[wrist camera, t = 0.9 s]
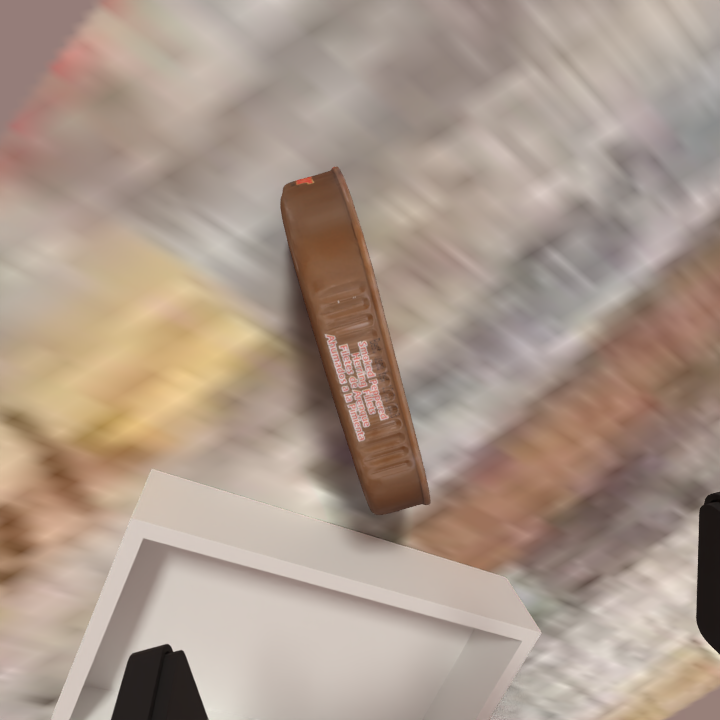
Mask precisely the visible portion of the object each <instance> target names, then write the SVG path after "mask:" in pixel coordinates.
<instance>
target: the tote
mask: <svg viewBox="0 0 720 720" xmlns="http://www.w3.org/2000/svg"><path fill="white" fill-rule="evenodd" d="M541 633H542V632H541V631H540V629H539V628H538V626H537V625H536V623H535V621H534V620H533V618H532V617H531V615H530V614H529V612H528V611H527V609H526V607H525V606H524V604H523V603H522V601H521V600H520V598H519V596H518V595H517V593H516V592H515V590H514V589H513V587H512V585H511V584H510V582H509V581H508V579H507V578H506V577H504V576H500V575H497V574H494V573H491V572H487V571H484V570H481V569H478V568H474V567H471V566H468V565H464V564H461V563H458V562H455V561H451V560H448V559H445V558H442V557H438V556H435V555H432V554H429V553H425V552H422V551H419V550H416V549H412V548H409V547H406V546H403V545H399V544H396V543H393V542H389V541H386V540H383V539H380V538H376V537H373V536H370V535H367V534H363V533H360V532H357V531H354V530H350V529H347V528H344V527H341V526H337V525H334V524H331V523H328V522H324V521H321V520H318V519H314V518H311V517H308V516H305V515H301V514H298V513H295V512H292V511H288V510H285V509H282V508H279V507H275V506H272V505H269V504H266V503H262V502H259V501H256V500H253V499H249V498H246V497H243V496H239V495H236V494H233V493H230V492H226V491H223V490H220V489H217V488H213V487H210V486H207V485H204V484H200V483H197V482H194V481H191V480H187V479H184V478H181V477H178V476H174V475H171V474H168V473H164V472H161V471H158V470H155V469H151V471H150V474H149V476H148V479H147V481H146V483H145V486H144V488H143V490H142V493H141V495H140V498H139V500H138V502H137V505H136V507H135V509H134V512H133V514H132V517H131V519H130V522H129V524H128V527H127V529H126V532H125V534H124V537H123V539H122V542H121V544H120V547H119V549H118V552H117V554H116V557H115V559H114V562H113V564H112V567H111V569H110V572H109V574H108V577H107V579H106V582H105V584H104V587H103V589H102V592H101V594H100V597H99V599H98V602H97V604H96V607H95V609H94V612H93V614H92V617H91V619H90V622H89V624H88V627H87V629H86V632H85V634H84V637H83V639H82V642H81V644H80V647H79V649H78V652H77V654H76V657H75V659H74V662H73V664H72V667H71V669H70V672H69V675H68V677H67V680H66V682H65V685H64V687H63V690H62V692H61V695H60V697H59V700H58V702H57V705H56V707H55V710H54V712H53V715H52V717H51V720H111V717H112V714H113V710H114V707H115V703H116V700H117V696H118V693H119V689H120V686H121V682H122V679H123V675H124V672H125V668H126V665H127V661H128V659H129V657H130V655H131V654H132V653H135V652H139V651H142V650H146V649H150V648H153V647H157V646H160V645H164V644H169V645H170V646H171V647H172V649H173V652H175V651H179V650H183V651H184V653H185V655H186V658H187V660H188V663H189V666H190V669H191V672H192V674H193V677H194V680H195V683H196V686H197V688H198V691H199V694H200V697H201V700H202V702H203V705H204V708H205V711H206V714H207V716H208V719H209V720H489V719H490V717H491V715H492V714H493V712H494V711H495V709H496V707H497V706H498V704H499V702H500V701H501V699H502V697H503V696H504V694H505V692H506V691H507V689H508V687H509V686H510V684H511V682H512V681H513V679H514V677H515V676H516V674H517V672H518V671H519V669H520V667H521V666H522V664H523V663H524V661H525V659H526V658H527V656H528V654H529V653H530V651H531V649H532V648H533V646H534V644H535V643H536V641H537V639H538V638H539V636H540V634H541Z"/></svg>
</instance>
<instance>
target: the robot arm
mask: <svg viewBox="0 0 720 720" xmlns="http://www.w3.org/2000/svg"><path fill="white" fill-rule="evenodd" d="M696 620H697V625H698V628H699V630H700V632H701V634H702V636H703V637H704V639H705V640H706V641H707V642H708V643H709V644H710V645H711V646H712V647H713V648H714V649H715V650H716V651H717V652H718V653H719V654H720V492H717V493H713V494H710V495H708V496H707V497H706V499H705V503H704V505H703V506H702V507H701V508H700V512H699V544H698V579H697V613H696ZM111 720H209V719H208V716H207V714H206V711H205V708H204V705H203V702H202V700H201V697H200V694H199V691H198V688H197V686H196V683H195V680H194V677H193V674H192V672H191V669H190V666H189V663H188V660H187V658H186V655H185V653H184V651H183V650H179V651H175V652H173V649H172V647H171V646H170V645H169V644H164V645H160V646H157V647H153V648H150V649H146V650H142V651H139V652H135V653H132V654H131V655H130V657H129V659H128V661H127V665H126V668H125V672H124V675H123V679H122V682H121V686H120V689H119V693H118V696H117V700H116V703H115V707H114V710H113V714H112V717H111Z"/></svg>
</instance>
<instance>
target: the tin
mask: <svg viewBox="0 0 720 720" xmlns="http://www.w3.org/2000/svg"><path fill="white" fill-rule="evenodd" d="M281 213H282V219H283V224H284V228H285V232H286V236H287V241H288V245H289V248H290V252H291V255H292V259H293V263H294V266H295V270H296V273H297V277H298V280H299V284H300V287H301V291H302V295H303V298H304V302H305V305H306V309H307V312H308V315H309V319H310V322H311V325H312V329H313V332H314V336H315V339H316V342H317V345H318V349H319V352H320V356H321V359H322V362H323V366H324V369H325V373H326V376H327V379H328V383H329V386H330V389H331V393H332V396H333V399H334V403H335V406H336V409H337V412H338V415H339V418H340V421H341V425H342V428H343V431H344V434H345V437H346V440H347V443H348V446H349V449H350V452H351V455H352V459H353V462H354V465H355V468H356V471H357V474H358V477H359V480H360V483H361V486H362V489H363V492H364V495H365V498H366V500H367V503H368V505H369V507H370V510H371V511H372V512H373V513H374V514H376V515H383V514H388V513H392V512H395V511H399V510H402V509H406V508H409V507H413V506H416V505H420V504H424V505H429V504H430V503H431V502H430V494H429V488H428V483H427V479H426V474H425V469H424V467H423V462H422V458H421V454H420V450H419V446H418V442H417V438H416V434H415V430H414V427H413V423H412V419H411V414H410V411H409V407H408V403H407V400H406V396H405V392H404V388H403V384H402V381H401V377H400V372H399V368H398V365H397V361H396V357H395V353H394V349H393V345H392V342H391V337H390V333H389V329H388V326H387V322H386V318H385V314H384V310H383V306H382V302H381V298H380V294H379V290H378V286H377V282H376V278H375V274H374V271H373V267H372V263H371V260H370V257H369V253H368V250H367V246H366V243H365V240H364V236H363V232H362V229H361V226H360V223H359V220H358V217H357V213H356V211H355V207H354V204H353V200H352V198H351V195H350V192H349V189H348V187H347V184H346V182H345V179H344V177H343V175H342V173H341V171H340V169H339V168H338V167H333V168H332V170H331V171H328V172H325V173H322V174H318V175H315V176H311V177H308V178H304V179H300V180H297V181H293V182H290V183H288V184H286V185H285V186H284V188H283V193H282V197H281Z"/></svg>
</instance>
